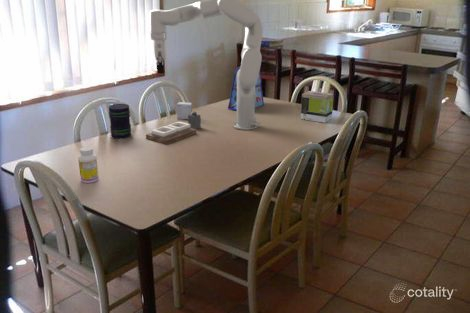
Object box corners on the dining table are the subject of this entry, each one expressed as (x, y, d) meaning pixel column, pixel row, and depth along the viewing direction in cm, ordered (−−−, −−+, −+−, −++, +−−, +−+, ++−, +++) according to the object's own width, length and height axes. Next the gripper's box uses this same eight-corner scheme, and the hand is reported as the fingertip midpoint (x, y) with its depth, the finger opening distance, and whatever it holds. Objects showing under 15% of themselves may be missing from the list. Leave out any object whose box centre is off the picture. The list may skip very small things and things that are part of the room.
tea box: (332, 119, 254) (334, 93, 249) (325, 123, 246) (327, 97, 241) (307, 115, 262) (309, 90, 256) (300, 119, 254) (301, 93, 248)
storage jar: (124, 131, 231) (122, 102, 226) (135, 135, 225) (133, 106, 219) (107, 135, 225) (104, 106, 219) (117, 140, 218) (114, 110, 213)
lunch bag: (246, 112, 265) (247, 63, 255) (227, 109, 272) (227, 61, 262) (264, 105, 282) (266, 58, 272) (246, 102, 289) (246, 56, 279)
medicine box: (192, 117, 255) (192, 102, 252) (191, 119, 251) (190, 104, 248) (178, 117, 256) (178, 102, 253) (177, 119, 252) (176, 104, 249)
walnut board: (196, 133, 229) (196, 129, 228) (166, 144, 213) (166, 140, 212) (176, 128, 236) (176, 124, 236) (146, 138, 221) (145, 134, 220)
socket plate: (190, 128, 229) (190, 124, 228) (163, 138, 215) (163, 133, 214) (175, 125, 234) (175, 120, 234) (148, 134, 220) (148, 129, 219)
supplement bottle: (83, 176, 177) (79, 145, 172) (100, 176, 177) (97, 145, 173) (79, 183, 171) (75, 151, 166) (97, 183, 171) (93, 151, 166)
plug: (200, 127, 237) (200, 112, 234) (195, 129, 234) (195, 113, 231) (193, 126, 240) (193, 110, 237) (188, 127, 237) (187, 112, 234)
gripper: (167, 38, 213) (168, 74, 219) (165, 34, 229) (167, 68, 235) (151, 38, 212) (153, 74, 218) (150, 34, 228) (152, 68, 234)
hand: (160, 71), depth 227 cm, fingers open, 9 cm apart
